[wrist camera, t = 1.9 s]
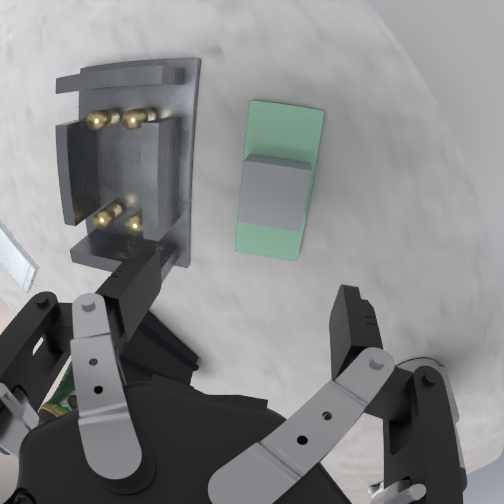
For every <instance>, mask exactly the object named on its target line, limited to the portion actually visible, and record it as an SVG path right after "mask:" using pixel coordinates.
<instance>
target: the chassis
mask: <svg viewBox="0 0 504 504" xmlns="http://www.w3.org/2000/svg"><path fill="white" fill-rule="evenodd" d="M200 62H201V59H198V58H189V59H158V60H143V61H132V62H122V63H114V64H106V65H99V66H93V67H87V68H81V70H80V74H76V75H71V76H65V77H60V78H56V94H59V93H67V92H75V91H79V120H75V121H71V122H67V123H63V124H59V125H56V149H57V163H58V175H59V185H60V193H61V201H62V208H63V215H64V221H65V224H67V225H72V226H76V225H77V224H79V223H80V222H82V221H83V220H84V219H86V226H87V233H88V235H87V236H86V237H85V238H83V239H82V240H81V241H80V242H79V243H77V244H76V245H75V246H74V247H73V248H71V249H70V253H71V258H72V262H74V263H78V264H82V265H86V266H90V267H94V268H98V269H102V270H106V271H110V272H114V271H116V269H117V267H118V266H119V265H120V264H121V263H122V262H124V261H126V260H128V259H130V258H135V257H136V256H137V254H138V253H139V252H140V251H141V250H143V249H145V250H150V251H155V252H159V254H160V263H161V277H162V282H163V280H164V279H165V278H166V276H167V275H168V273H169V272H170V270H171V269H172V267H173V266H174V265H175V266H180V267H185V268H188V266H189V265H190V215H191V185H192V163H193V145H194V130H195V116H196V104H197V92H198V82H199V72H200Z"/></svg>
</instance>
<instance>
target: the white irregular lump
mask: <svg viewBox="0 0 504 504" xmlns="http://www.w3.org/2000/svg"><path fill="white" fill-rule="evenodd" d="M380 484H381V485H379V487H374V486H370V487H369V490H367V491H368V493H370V495H371V497H372V498H373V497H374V496H375V495H376V494H377V493H379V492H381V491H382V490H384V481H382V482H381V483H380Z"/></svg>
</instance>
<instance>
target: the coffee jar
mask: <svg viewBox="0 0 504 504" xmlns="http://www.w3.org/2000/svg"><path fill="white" fill-rule="evenodd" d="M76 408H78V404H77V397H76V391H75V383H74V376H73V367H72V360H71V362H70V364H69V366H68V368H67V370H66V373H65V375H64V376H63V378H62V380H61V382H60V384H59V386H58V388H57V390H56V391H55V393H54V394H53V396H52V398H51V399H50V400H49V401H48V402H46V403H45V404H43V405H42V406H41V408H40V410H39V412H38V414H39V422H38V425H41V424H43V423H45V422H47V421H50V420H52V419H54V418H56V417H59V416H61V415H63V414H65V413H67V412H69V411H72V410H74V409H76Z"/></svg>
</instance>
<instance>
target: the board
mask: <svg viewBox="0 0 504 504" xmlns="http://www.w3.org/2000/svg"><path fill="white" fill-rule="evenodd" d="M323 118H324V111H323V110H318V109H312V108H306V107H300V106H294V105H287V104H280V103H272V102H264V101H255V100H250V103H249V112H248V121H247V131H246V140H245V150H244V160H243V170H242V180H241V190H240V201H239V211H238V222H237V233H236V244H235V251H237V252H242V253H248V254H254V255H260V256H266V257H272V258H278V259H284V260H290V261H296V262H297V260H298V255H299V250H300V246H301V241H302V236H303V231H304V226H305V221H306V215H307V210H308V205H309V200H310V194H311V189H312V183H313V178H314V172H315V166H316V161H317V155H318V149H319V143H320V137H321V130H322V124H323Z"/></svg>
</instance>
